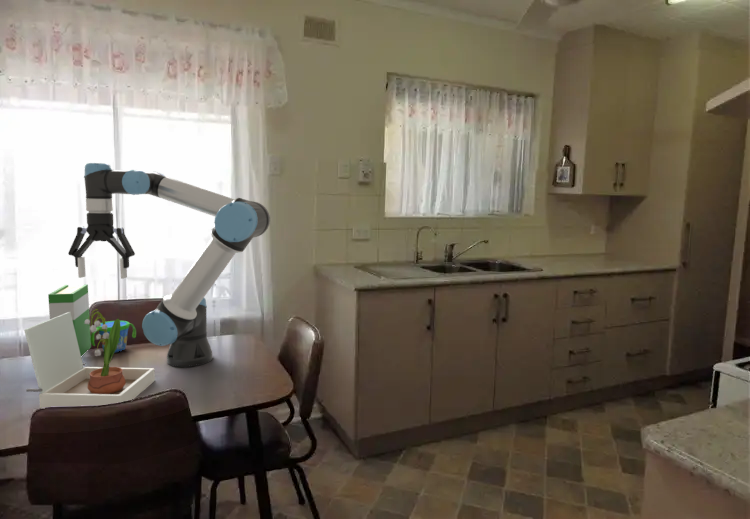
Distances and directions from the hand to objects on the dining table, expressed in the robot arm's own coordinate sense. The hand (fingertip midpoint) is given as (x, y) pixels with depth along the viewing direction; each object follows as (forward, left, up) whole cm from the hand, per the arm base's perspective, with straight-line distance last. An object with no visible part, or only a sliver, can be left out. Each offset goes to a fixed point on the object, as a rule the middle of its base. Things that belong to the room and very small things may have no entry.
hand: (103, 277), depth 168 cm
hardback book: (+19, -13, -31) cm, 39 cm away
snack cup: (+7, -19, -31) cm, 37 cm away
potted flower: (-10, +21, -30) cm, 38 cm away
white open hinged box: (-7, +21, -31) cm, 38 cm away
